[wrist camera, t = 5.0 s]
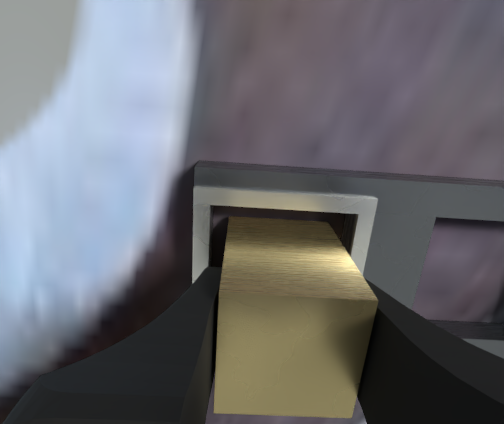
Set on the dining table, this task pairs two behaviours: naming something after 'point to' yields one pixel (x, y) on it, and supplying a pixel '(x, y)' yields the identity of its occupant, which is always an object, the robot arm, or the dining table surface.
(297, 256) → the brass block
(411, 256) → the grey double window frame
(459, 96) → the dining table surface
